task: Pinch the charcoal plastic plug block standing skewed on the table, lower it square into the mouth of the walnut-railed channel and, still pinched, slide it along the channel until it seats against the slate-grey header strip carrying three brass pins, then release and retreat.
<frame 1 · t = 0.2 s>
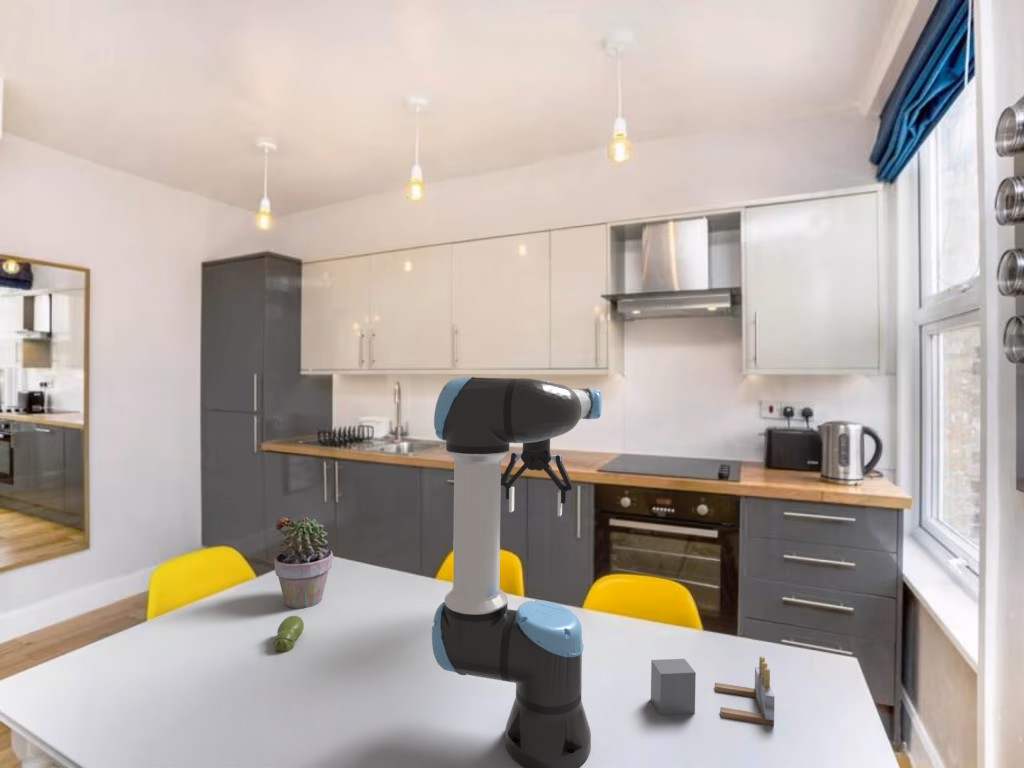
hand: (535, 513, 142), 28 cm above the table, fingers open, 13 cm apart
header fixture: (717, 701, 104), on the table
plug block: (672, 706, 103), on the table
green rounded oblong piece: (288, 644, 125), on the table
potted plant: (306, 600, 149), on the table
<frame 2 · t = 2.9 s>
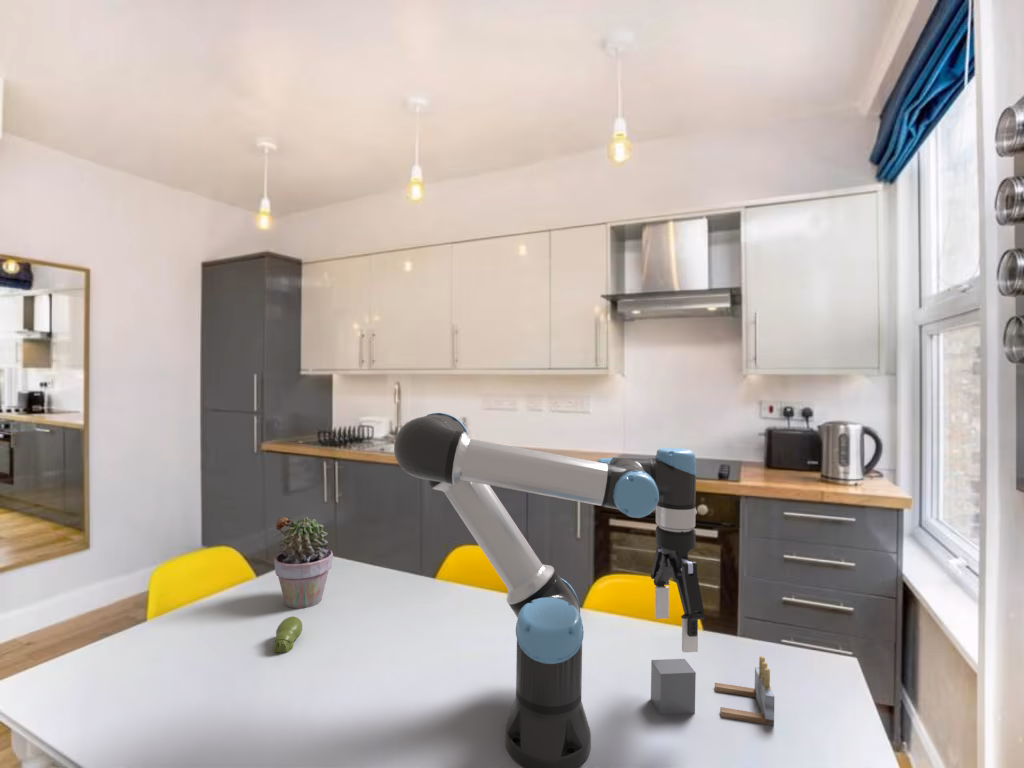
hand: (674, 633, 103), 14 cm above the table, fingers open, 13 cm apart
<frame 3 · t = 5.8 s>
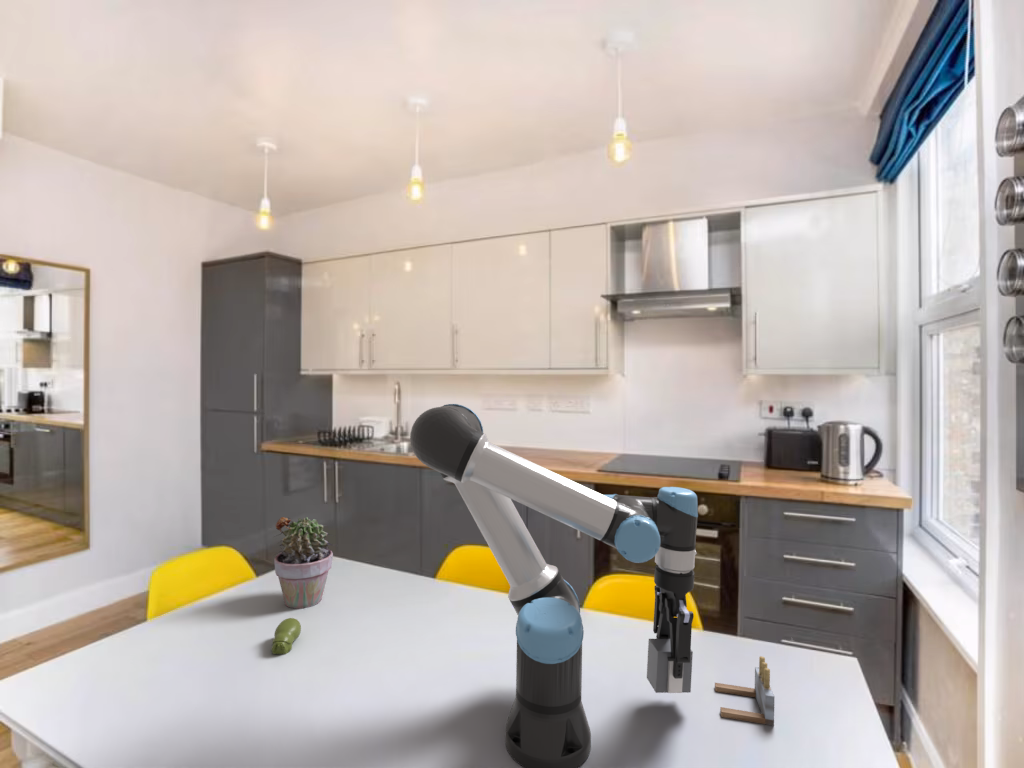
hand: (668, 682, 103), 5 cm above the table, fingers closed on plug block, 5 cm apart
plug block: (668, 684, 103), point 4 cm above the table, touching gripper
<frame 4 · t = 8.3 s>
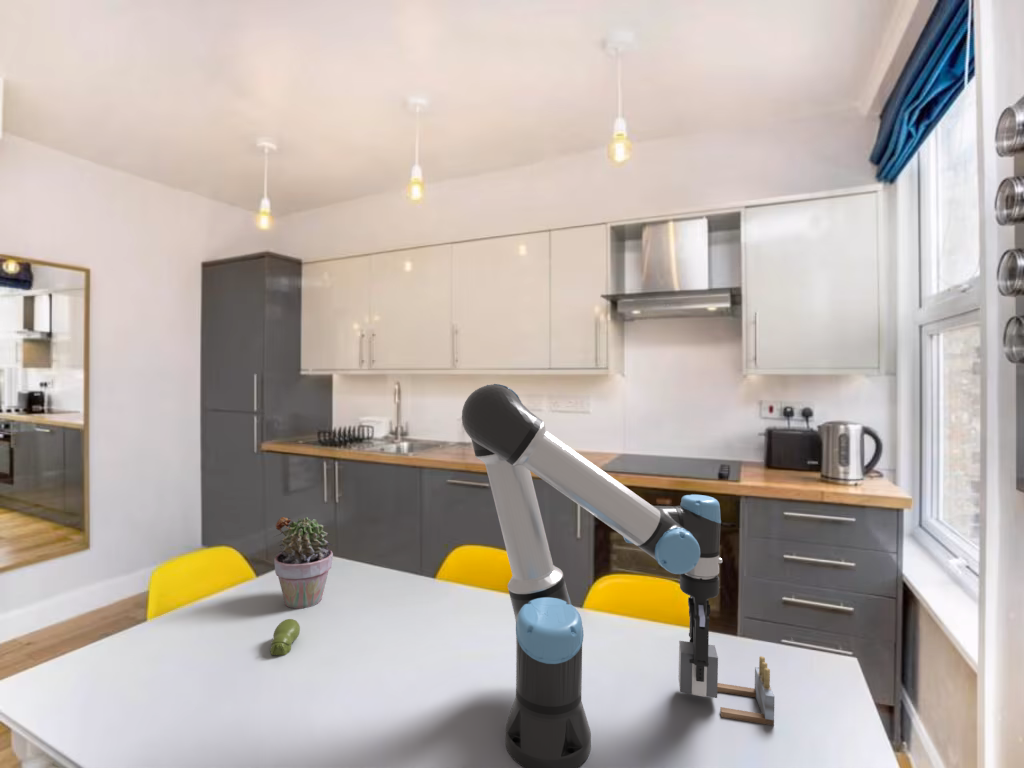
hand: (697, 686, 105), 2 cm above the table, fingers closed on plug block, 5 cm apart
plug block: (697, 687, 105), point 2 cm above the table, touching gripper
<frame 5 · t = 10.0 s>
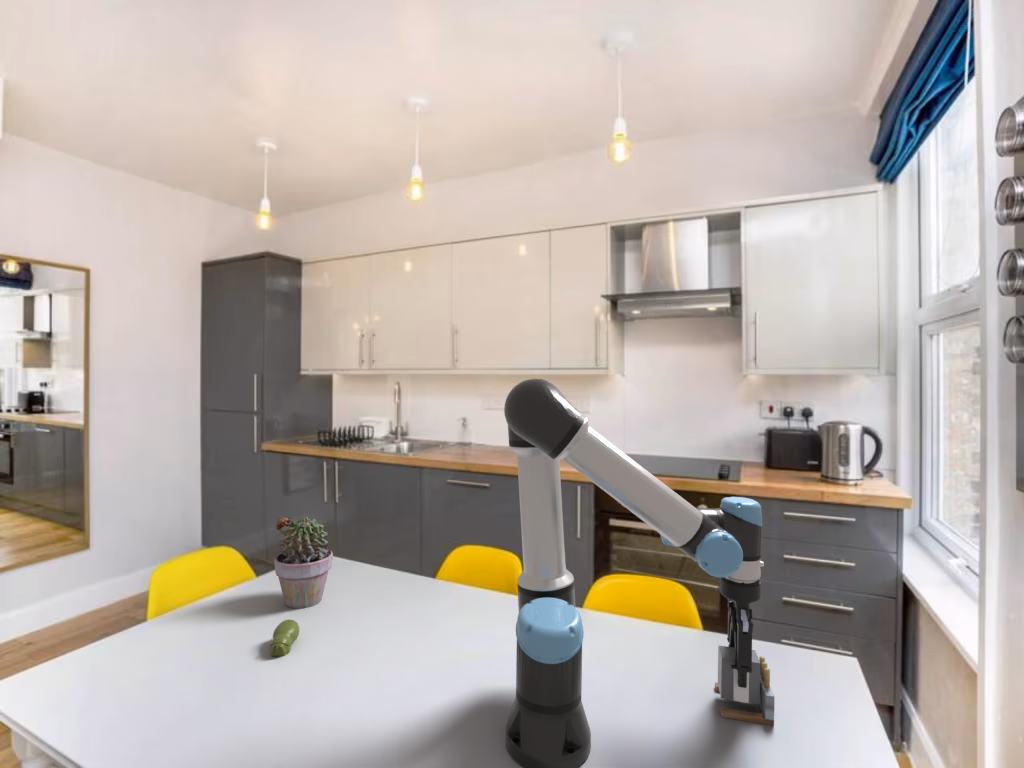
hand: (738, 692, 103), 3 cm above the table, fingers closed on plug block, 5 cm apart
plug block: (738, 693, 103), point 2 cm above the table, touching gripper
when the fingers open (2 cm above the table, at t = 11.0 s): plug block drops 2 cm, on the table.
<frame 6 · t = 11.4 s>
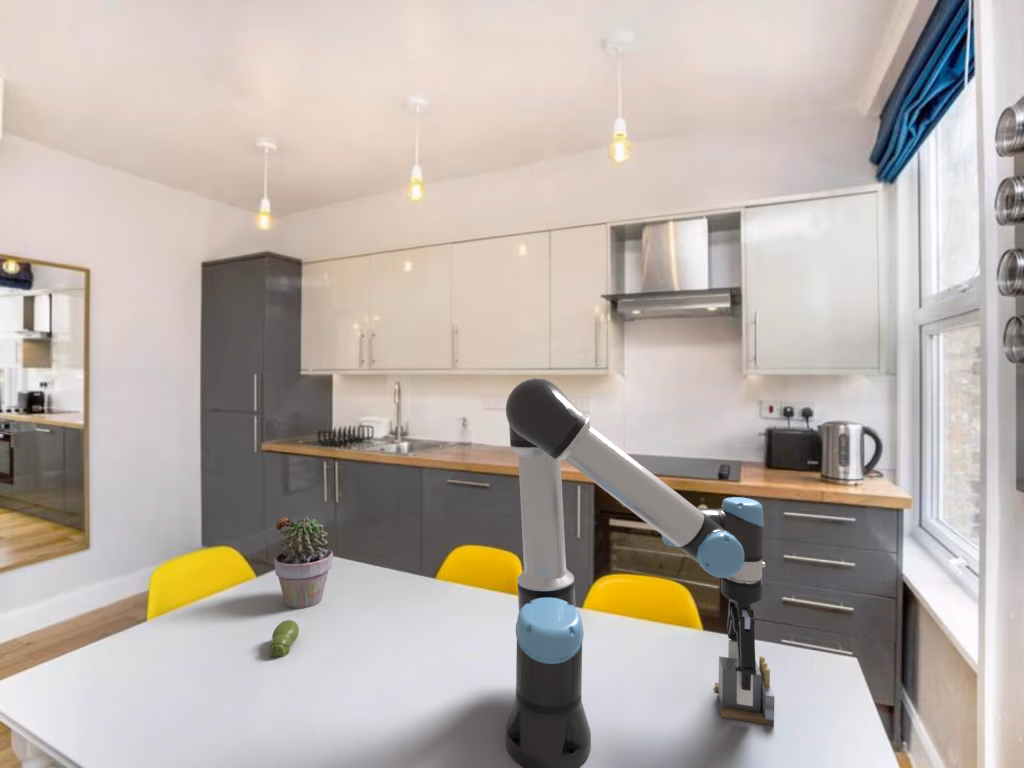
hand: (739, 687, 103), 3 cm above the table, fingers open, 10 cm apart
plug block: (738, 705, 103), on the table
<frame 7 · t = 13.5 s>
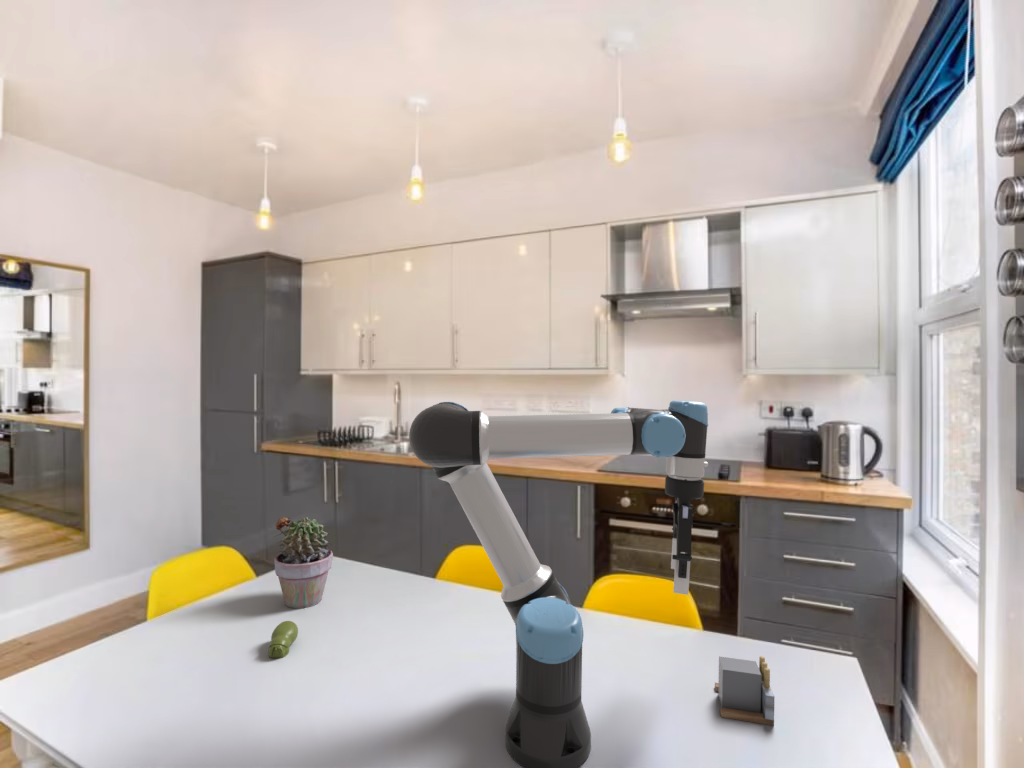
hand: (679, 580, 105), 24 cm above the table, fingers open, 13 cm apart
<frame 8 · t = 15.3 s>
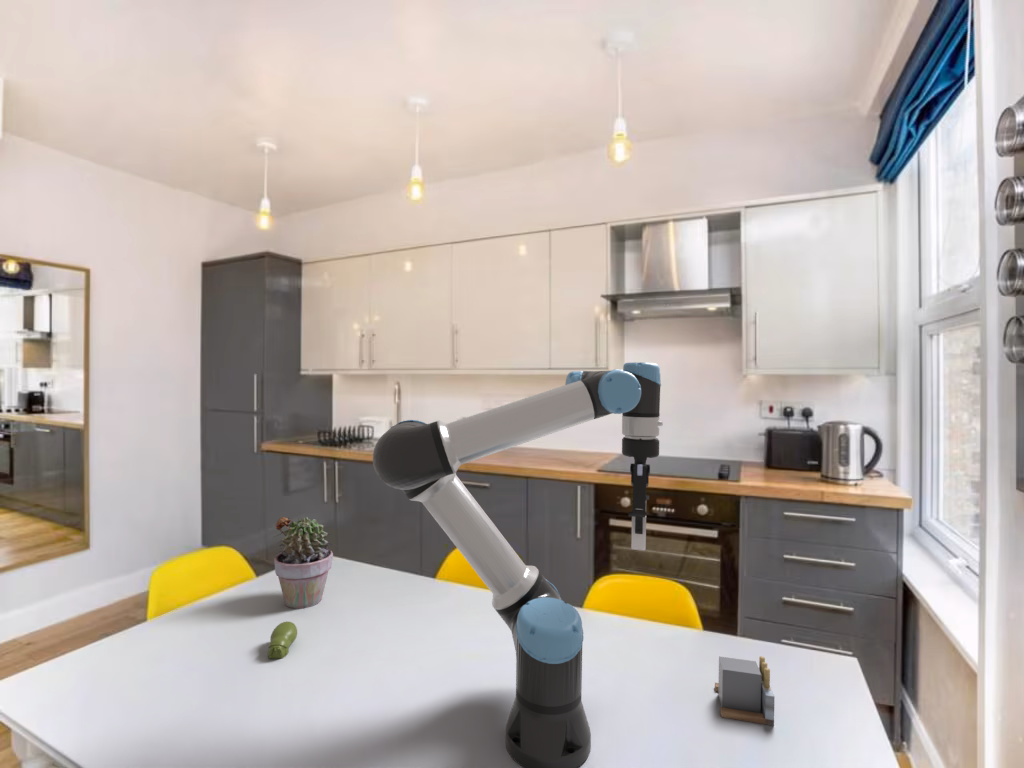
hand: (638, 539, 107), 32 cm above the table, fingers open, 13 cm apart
at the end: plug block 0.1 cm from the target spot on the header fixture, point 0.0 cm above the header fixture's base; plug block tilted 0°; the gripper is holding nothing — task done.
